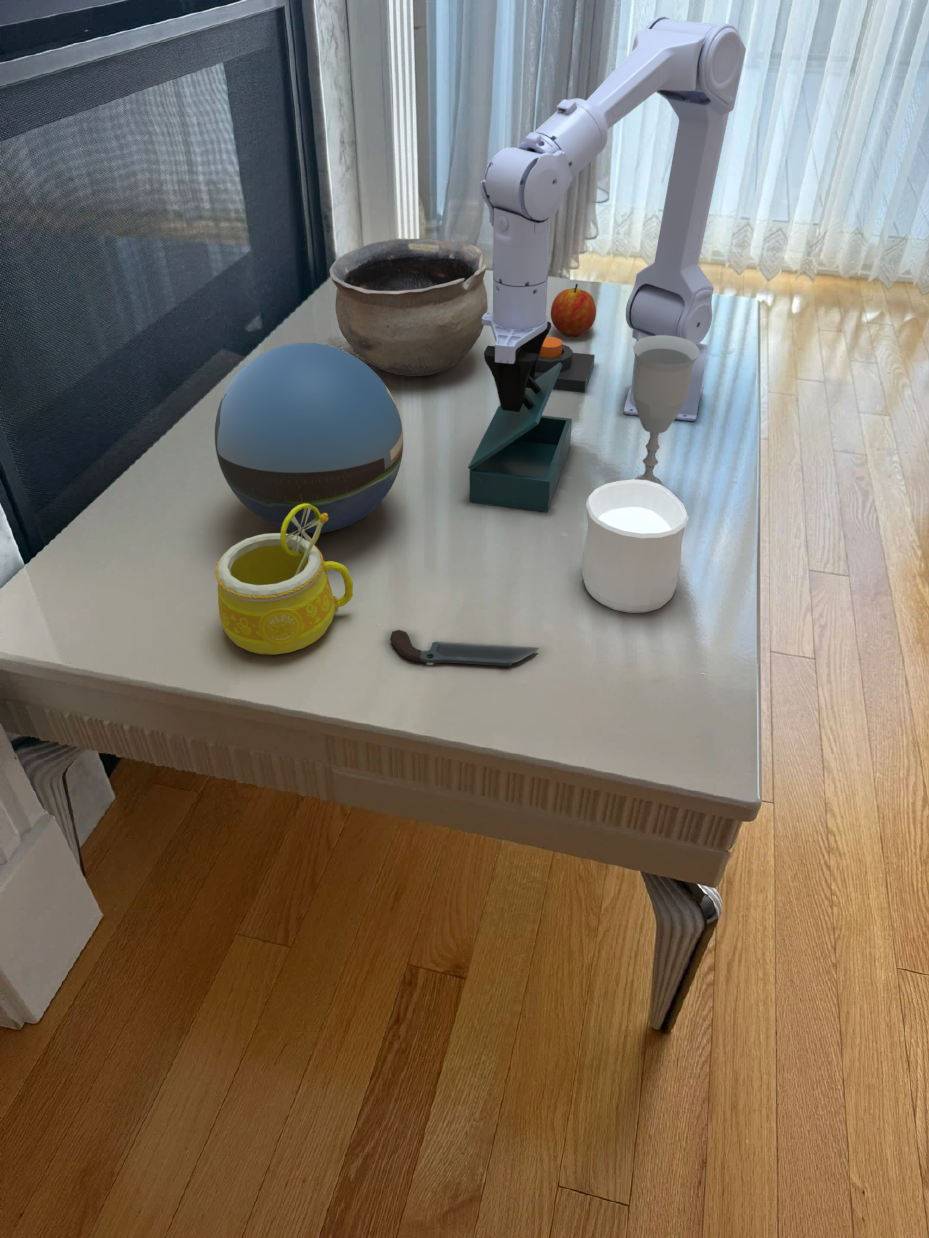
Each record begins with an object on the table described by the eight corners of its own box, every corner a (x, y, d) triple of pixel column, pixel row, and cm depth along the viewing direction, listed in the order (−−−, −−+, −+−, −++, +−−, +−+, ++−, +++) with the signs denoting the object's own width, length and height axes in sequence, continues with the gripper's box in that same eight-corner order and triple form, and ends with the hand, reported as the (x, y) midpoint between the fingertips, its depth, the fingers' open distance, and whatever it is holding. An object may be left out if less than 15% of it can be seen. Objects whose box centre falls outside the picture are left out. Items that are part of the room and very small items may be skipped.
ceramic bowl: (475, 402, 123) (474, 293, 114) (321, 392, 126) (308, 285, 116) (496, 338, 140) (497, 238, 130) (360, 330, 143) (351, 232, 133)
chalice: (674, 518, 101) (699, 367, 89) (613, 512, 102) (630, 361, 90) (675, 484, 106) (699, 337, 95) (618, 479, 108) (634, 333, 96)
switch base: (593, 365, 132) (595, 342, 130) (584, 392, 125) (586, 368, 123) (514, 357, 134) (514, 335, 132) (500, 383, 128) (500, 360, 125)
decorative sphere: (207, 563, 95) (165, 388, 83) (264, 469, 110) (236, 308, 97) (388, 578, 93) (373, 399, 80) (421, 479, 108) (413, 316, 95)
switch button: (563, 350, 129) (564, 338, 128) (559, 360, 126) (560, 348, 125) (539, 347, 130) (539, 335, 128) (534, 357, 127) (534, 345, 126)
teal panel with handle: (562, 365, 107) (539, 336, 105) (538, 424, 96) (512, 393, 94) (500, 409, 113) (477, 382, 111) (470, 470, 101) (444, 441, 100)
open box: (570, 448, 113) (572, 418, 111) (547, 512, 102) (549, 481, 100) (498, 439, 115) (499, 410, 113) (469, 502, 104) (469, 471, 101)
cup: (611, 546, 97) (620, 467, 91) (694, 581, 92) (710, 500, 86) (560, 589, 91) (566, 508, 85) (646, 629, 86) (659, 546, 80)
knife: (385, 661, 83) (385, 656, 83) (392, 633, 86) (392, 628, 86) (537, 670, 82) (537, 665, 81) (539, 642, 85) (539, 636, 85)
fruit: (541, 330, 142) (543, 279, 137) (579, 323, 144) (583, 272, 139) (563, 346, 137) (566, 294, 132) (602, 338, 139) (607, 286, 134)
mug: (228, 674, 82) (202, 569, 74) (220, 602, 90) (196, 500, 83) (366, 648, 85) (355, 544, 77) (347, 580, 93) (335, 480, 85)
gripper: (498, 252, 100) (497, 367, 109) (465, 299, 89) (467, 423, 98) (561, 256, 99) (554, 373, 107) (535, 305, 88) (530, 430, 97)
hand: (516, 397), depth 103 cm, fingers open, 5 cm apart
